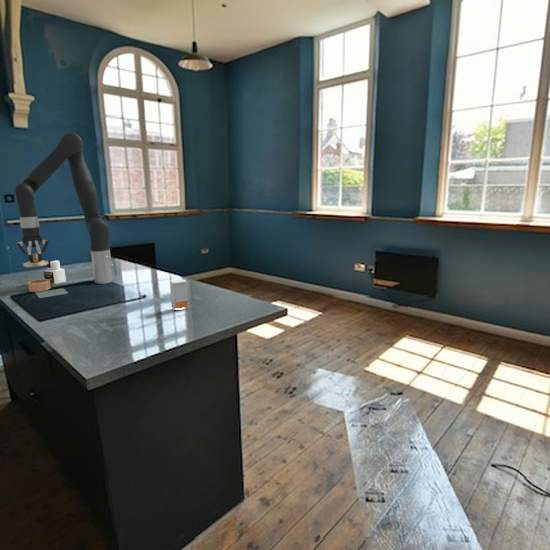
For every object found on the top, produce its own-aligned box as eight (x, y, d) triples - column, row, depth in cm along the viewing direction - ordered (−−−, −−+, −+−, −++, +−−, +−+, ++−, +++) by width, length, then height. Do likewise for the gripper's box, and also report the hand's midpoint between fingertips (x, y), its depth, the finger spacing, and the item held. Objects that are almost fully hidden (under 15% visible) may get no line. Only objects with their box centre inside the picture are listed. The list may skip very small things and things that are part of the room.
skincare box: (174, 311, 153) (172, 283, 150) (171, 308, 157) (169, 280, 154) (189, 309, 156) (187, 281, 153) (186, 306, 160) (184, 279, 157)
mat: (63, 289, 189) (62, 288, 189) (68, 294, 180) (68, 293, 180) (35, 293, 182) (35, 292, 182) (39, 299, 173) (39, 298, 173)
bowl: (48, 286, 194) (47, 278, 193) (52, 290, 188) (50, 281, 186) (28, 289, 189) (26, 281, 188) (31, 293, 182) (29, 284, 181)
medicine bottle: (45, 283, 200) (41, 261, 198) (57, 280, 207) (53, 259, 204) (54, 284, 198) (51, 262, 195) (66, 281, 204) (63, 259, 201)
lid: (46, 261, 192) (44, 251, 191) (50, 265, 184) (48, 253, 183) (22, 264, 186) (20, 253, 184) (25, 268, 178) (23, 256, 177)
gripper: (45, 224, 188) (50, 259, 192) (11, 226, 179) (17, 262, 183) (48, 225, 182) (53, 261, 186) (13, 228, 174) (19, 265, 178)
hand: (35, 261), depth 185 cm, fingers closed on lid, 2 cm apart
